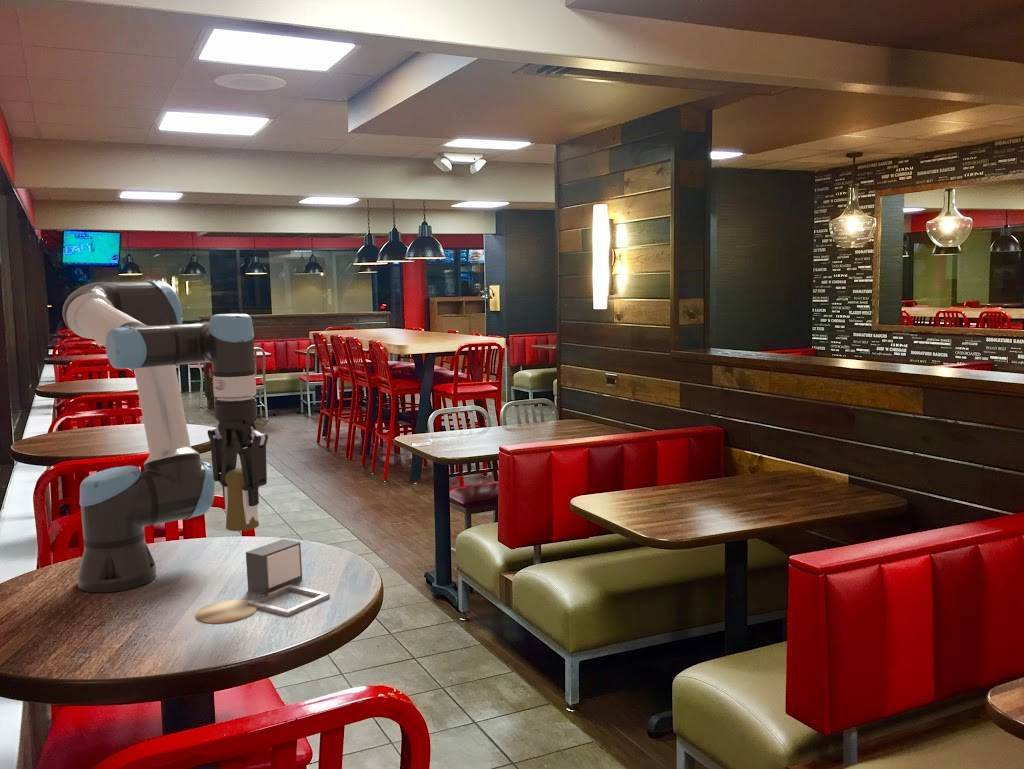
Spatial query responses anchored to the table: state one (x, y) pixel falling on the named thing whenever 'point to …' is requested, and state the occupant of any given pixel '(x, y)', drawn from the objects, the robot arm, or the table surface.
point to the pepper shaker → (237, 503)
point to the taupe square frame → (318, 598)
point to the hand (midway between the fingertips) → (241, 520)
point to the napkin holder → (273, 566)
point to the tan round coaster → (225, 611)
